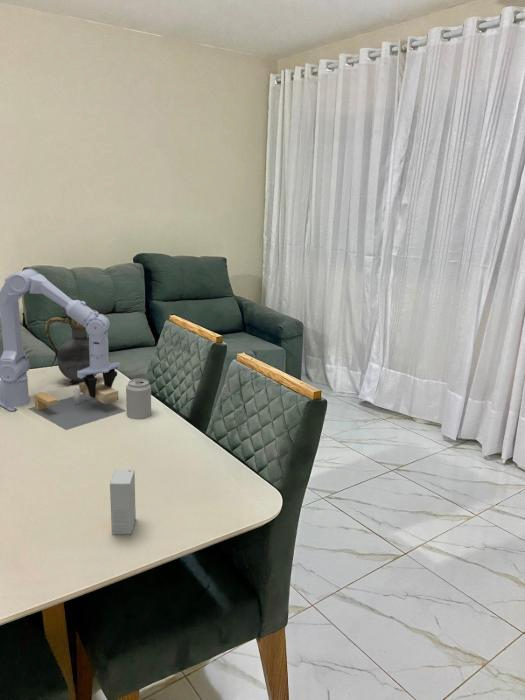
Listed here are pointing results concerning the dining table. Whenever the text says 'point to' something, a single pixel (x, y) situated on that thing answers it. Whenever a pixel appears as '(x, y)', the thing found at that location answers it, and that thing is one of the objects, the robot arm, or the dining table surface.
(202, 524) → the dining table surface
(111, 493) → the skincare box
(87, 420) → the slate board
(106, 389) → the oak link
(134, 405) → the can
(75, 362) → the pitcher
